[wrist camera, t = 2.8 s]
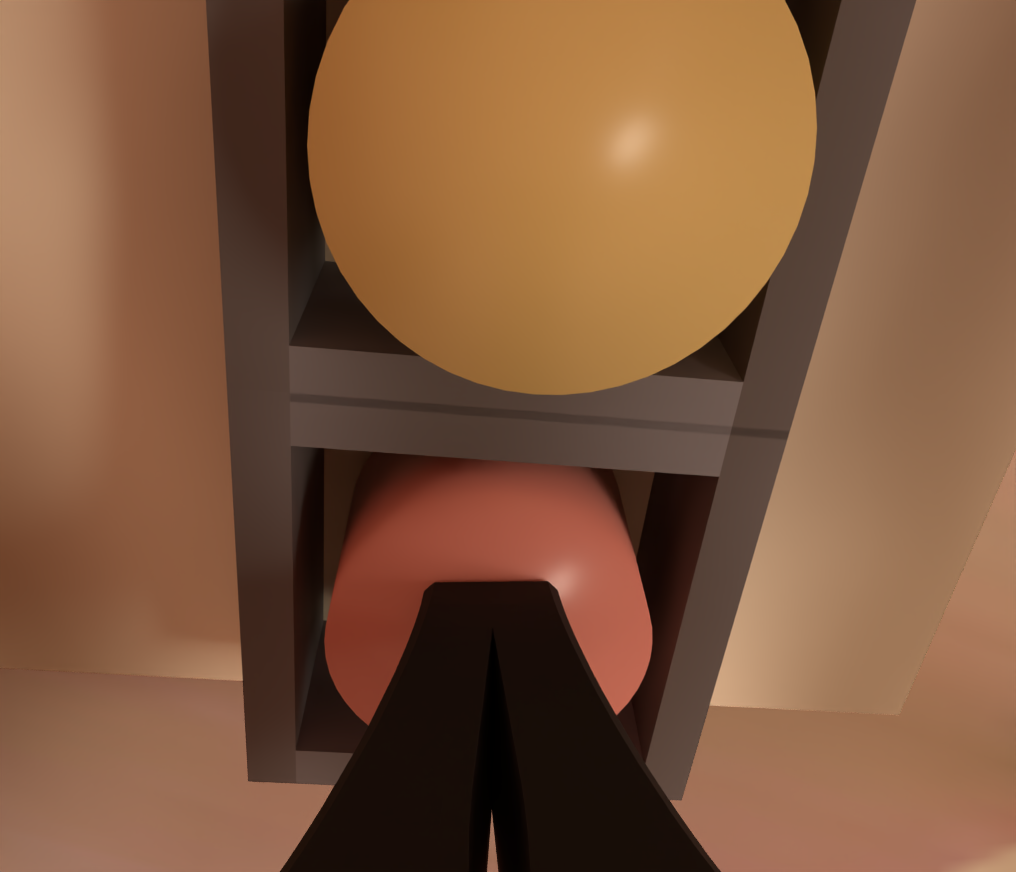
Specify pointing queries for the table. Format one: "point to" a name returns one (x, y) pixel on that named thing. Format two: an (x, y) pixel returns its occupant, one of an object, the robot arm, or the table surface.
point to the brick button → (483, 562)
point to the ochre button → (560, 177)
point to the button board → (475, 407)
